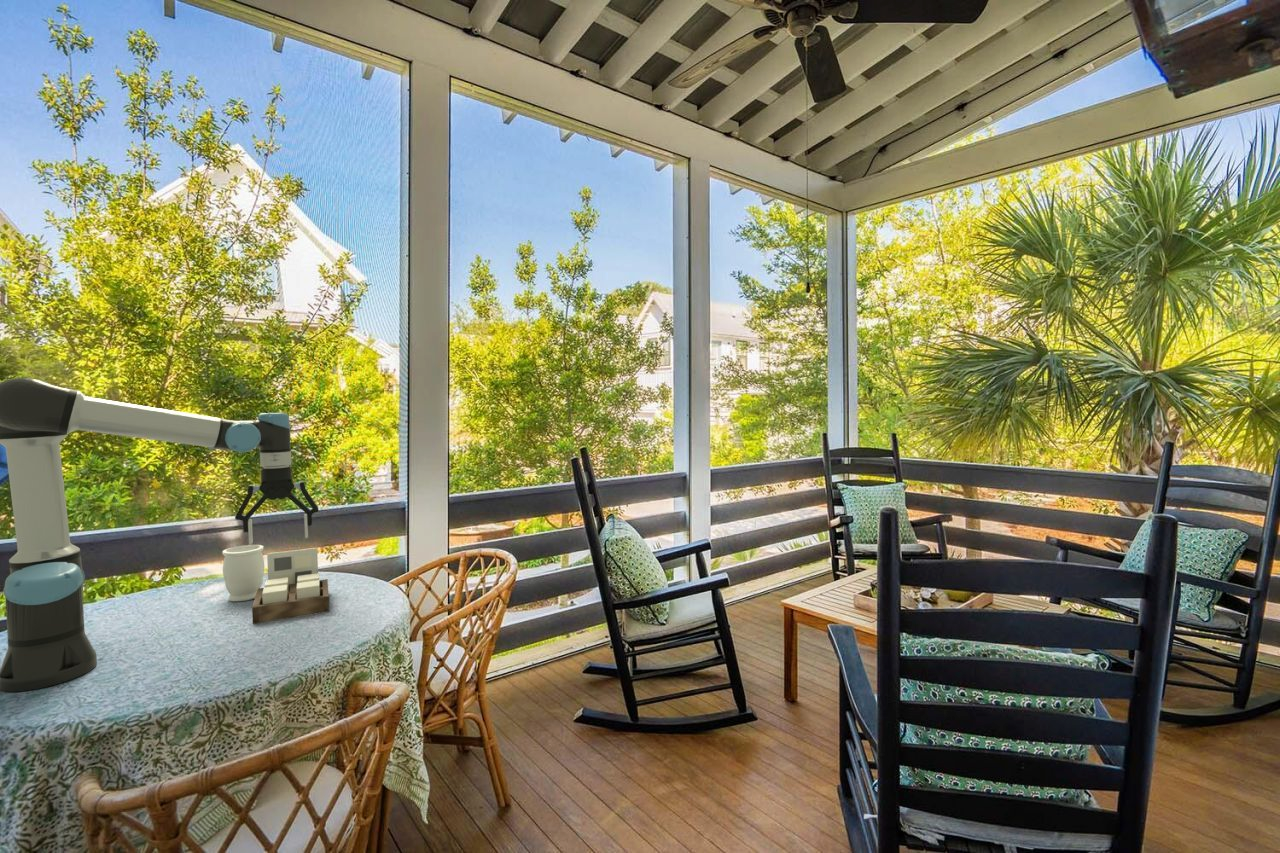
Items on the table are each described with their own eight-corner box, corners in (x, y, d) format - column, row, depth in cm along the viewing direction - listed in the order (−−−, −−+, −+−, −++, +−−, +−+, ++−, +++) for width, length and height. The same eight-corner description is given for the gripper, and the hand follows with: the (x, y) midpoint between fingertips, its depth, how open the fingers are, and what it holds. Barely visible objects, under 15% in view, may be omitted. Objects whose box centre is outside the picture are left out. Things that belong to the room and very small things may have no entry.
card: (268, 600, 173) (267, 554, 172) (269, 599, 174) (267, 553, 173) (318, 593, 179) (317, 548, 179) (318, 592, 180) (317, 547, 180)
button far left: (264, 599, 165) (264, 585, 165) (266, 593, 170) (265, 580, 169) (288, 595, 167) (287, 582, 167) (288, 590, 172) (288, 577, 172)
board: (252, 623, 155) (252, 607, 155) (258, 603, 171) (257, 588, 170) (329, 611, 164) (328, 596, 163) (327, 593, 179) (327, 579, 179)
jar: (272, 595, 178) (270, 547, 177) (234, 605, 169) (232, 554, 168) (255, 589, 183) (253, 542, 183) (217, 599, 175) (215, 549, 174)
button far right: (297, 594, 169) (297, 580, 168) (298, 589, 173) (297, 575, 173) (319, 591, 171) (319, 577, 171) (319, 586, 176) (319, 573, 176)
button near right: (296, 602, 162) (296, 588, 161) (297, 596, 167) (296, 583, 166) (319, 599, 164) (319, 585, 164) (319, 593, 169) (319, 580, 169)
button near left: (262, 608, 158) (262, 593, 158) (264, 601, 163) (263, 587, 162) (286, 604, 160) (286, 590, 160) (287, 598, 165) (287, 584, 165)
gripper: (221, 471, 157) (224, 549, 158) (326, 465, 169) (328, 537, 170) (224, 468, 163) (227, 543, 164) (325, 462, 176) (327, 532, 177)
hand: (279, 540), depth 167 cm, fingers open, 13 cm apart
